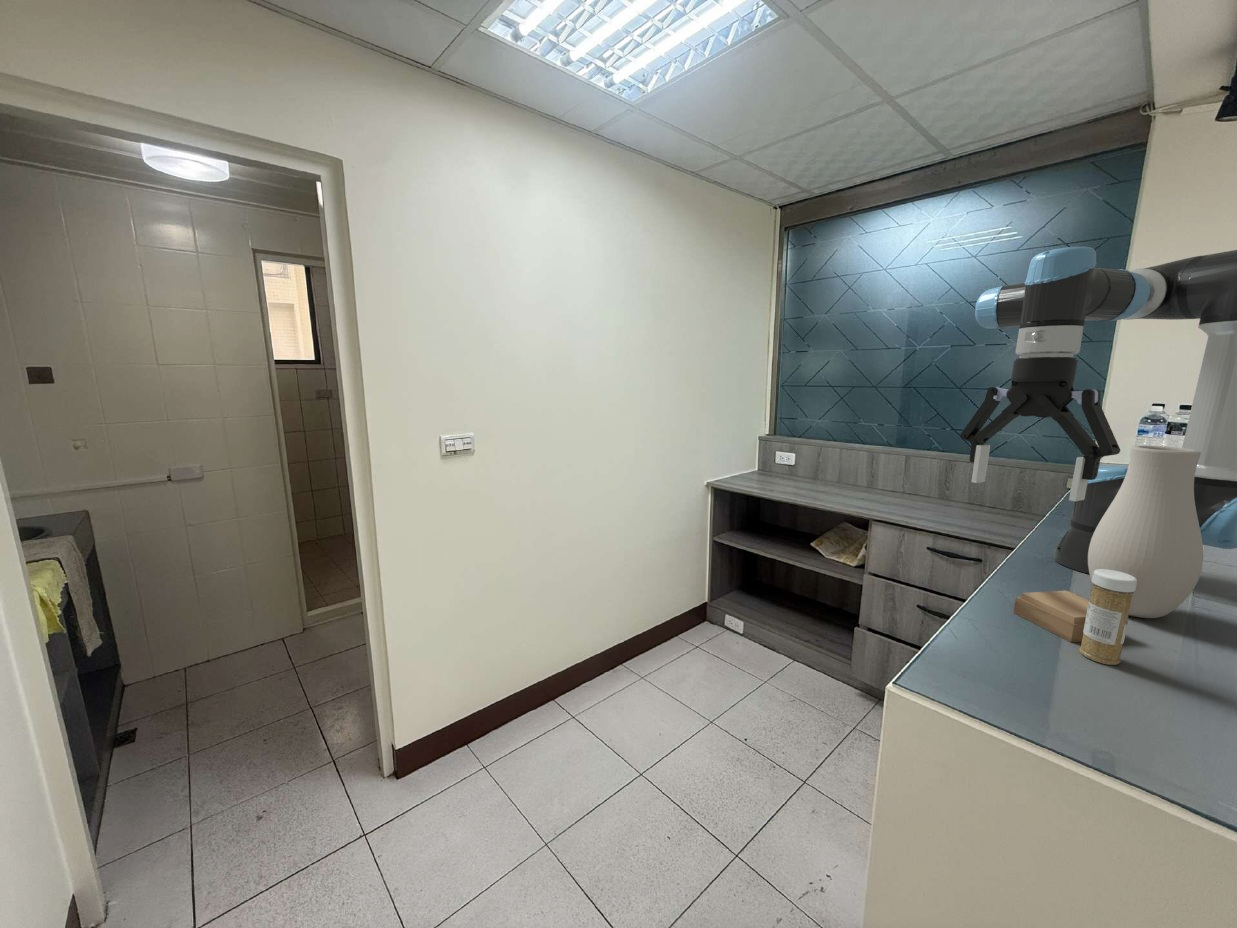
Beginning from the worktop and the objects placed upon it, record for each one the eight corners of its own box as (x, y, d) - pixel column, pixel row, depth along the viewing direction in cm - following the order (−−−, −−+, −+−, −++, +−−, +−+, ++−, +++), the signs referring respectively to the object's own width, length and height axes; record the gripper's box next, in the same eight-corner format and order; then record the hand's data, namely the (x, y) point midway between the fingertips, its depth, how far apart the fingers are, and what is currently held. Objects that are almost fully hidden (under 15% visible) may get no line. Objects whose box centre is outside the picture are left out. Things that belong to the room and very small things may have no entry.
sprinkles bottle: (1128, 663, 72) (1146, 578, 70) (1104, 667, 71) (1122, 581, 69) (1092, 647, 77) (1108, 566, 74) (1070, 650, 76) (1085, 569, 73)
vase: (1188, 613, 88) (1226, 449, 83) (1188, 639, 79) (1231, 457, 74) (1084, 588, 98) (1112, 440, 93) (1074, 609, 89) (1104, 447, 84)
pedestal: (1061, 609, 89) (1065, 589, 88) (1124, 638, 79) (1129, 615, 79) (1013, 612, 88) (1016, 591, 87) (1070, 642, 78) (1075, 619, 77)
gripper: (947, 358, 85) (932, 477, 89) (1147, 352, 63) (1115, 512, 66) (973, 359, 88) (957, 474, 92) (1171, 354, 66) (1139, 506, 70)
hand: (1023, 490), depth 79 cm, fingers open, 13 cm apart
